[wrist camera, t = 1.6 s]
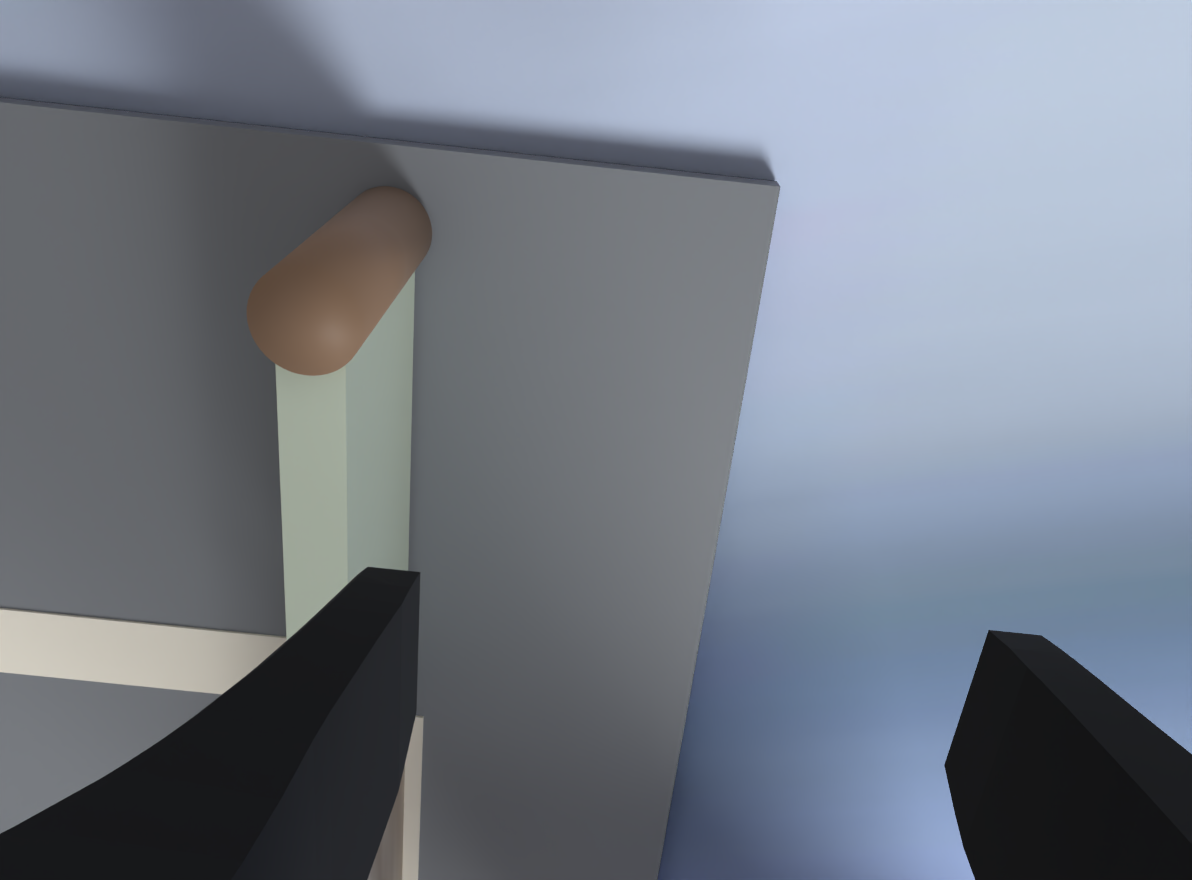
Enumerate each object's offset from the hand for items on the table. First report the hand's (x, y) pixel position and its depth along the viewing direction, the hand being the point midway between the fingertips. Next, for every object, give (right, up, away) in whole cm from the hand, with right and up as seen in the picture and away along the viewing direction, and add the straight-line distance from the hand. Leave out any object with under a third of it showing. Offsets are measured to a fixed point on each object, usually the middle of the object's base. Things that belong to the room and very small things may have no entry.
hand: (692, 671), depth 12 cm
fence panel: (-5, +2, +9) cm, 11 cm away
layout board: (-8, -1, +11) cm, 14 cm away
